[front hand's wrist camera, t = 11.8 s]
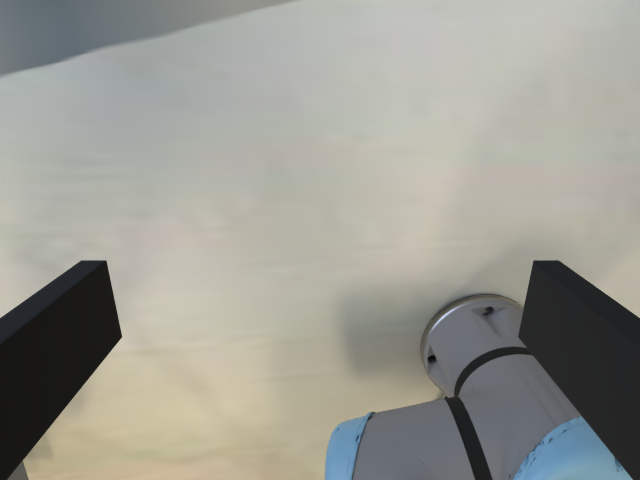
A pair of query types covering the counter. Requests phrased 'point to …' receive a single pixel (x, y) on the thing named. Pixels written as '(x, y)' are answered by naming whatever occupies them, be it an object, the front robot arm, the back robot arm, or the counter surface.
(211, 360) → the counter surface
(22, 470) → the brick
